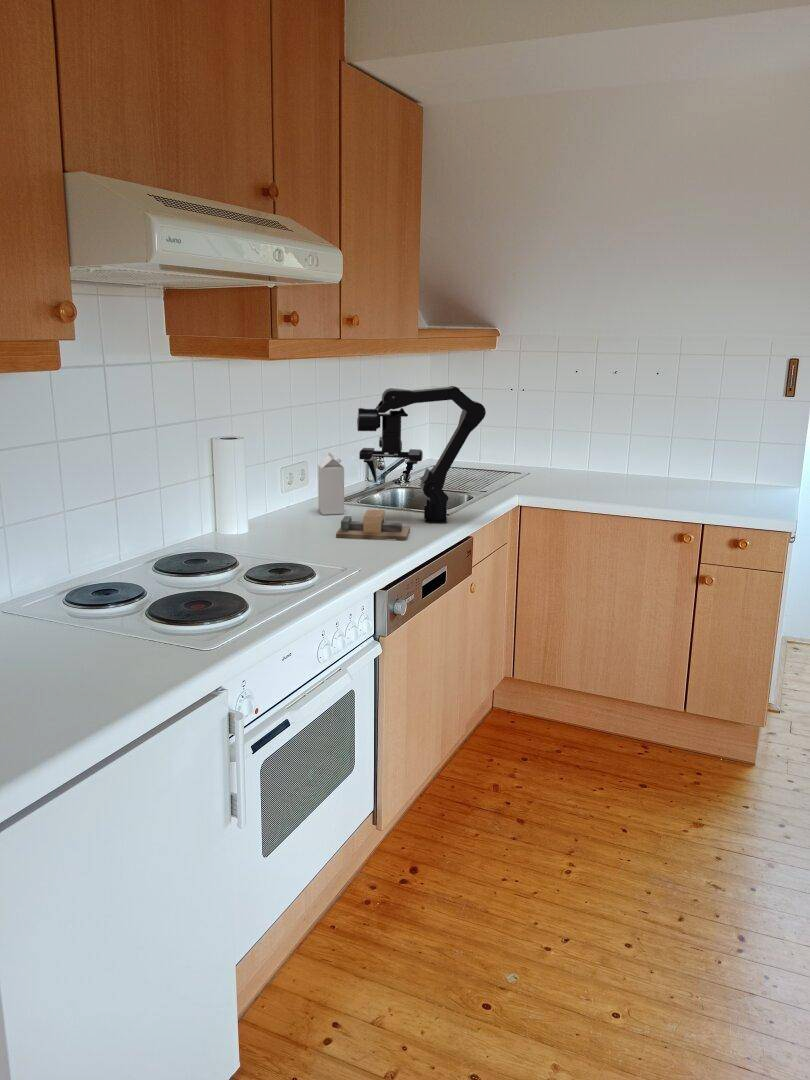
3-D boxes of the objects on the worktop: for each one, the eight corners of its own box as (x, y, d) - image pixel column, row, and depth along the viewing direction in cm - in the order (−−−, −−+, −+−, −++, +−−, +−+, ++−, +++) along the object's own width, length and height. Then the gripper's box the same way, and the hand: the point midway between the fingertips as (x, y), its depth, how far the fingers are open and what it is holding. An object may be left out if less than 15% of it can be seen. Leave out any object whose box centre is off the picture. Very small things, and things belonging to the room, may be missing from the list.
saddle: (384, 526, 245) (384, 510, 244) (380, 534, 237) (381, 516, 236) (367, 526, 246) (367, 509, 245) (363, 533, 237) (363, 516, 236)
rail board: (410, 530, 247) (410, 516, 246) (406, 540, 235) (406, 526, 234) (342, 527, 248) (342, 514, 247) (336, 537, 237) (335, 523, 236)
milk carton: (322, 515, 264) (321, 455, 259) (318, 510, 271) (317, 452, 266) (344, 514, 266) (344, 454, 261) (340, 509, 272) (339, 451, 268)
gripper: (424, 429, 258) (423, 479, 262) (364, 427, 259) (364, 476, 263) (421, 433, 247) (420, 485, 251) (359, 431, 249) (358, 483, 253)
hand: (390, 482), depth 255 cm, fingers open, 9 cm apart
